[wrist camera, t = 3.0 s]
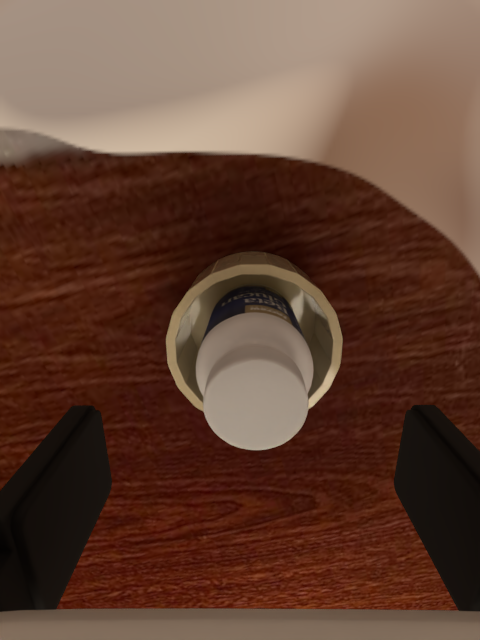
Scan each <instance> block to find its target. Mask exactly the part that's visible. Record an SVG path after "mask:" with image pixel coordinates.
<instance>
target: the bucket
mask: <svg viewBox="0 0 480 640" xmlns="http://www.w3.org/2000/svg"><path fill="white" fill-rule="evenodd" d="M245 284H261V285H265V286H268V287H271V288H273V289H275V290H276V291H278V292H279V293H280V294H282V295H283V296H284V297H285V299H286V300H287V301H288V302H289V304H290V306H291V307H292V309H293V311H294V314H295V316H296V319H297V321H298V323H299V326H300V328H301V330H302V333H303V335H304V337H305V340H306V342H307V344H308V346H309V349H310V352H311V356H312V360H313V379H312V384H311V387H310V389H309V392H308V403H309V404H308V409H310V408H311V407H312V406H314V405H315V404H316V403H317V401H318V400H319V399H320V398H321V397H322V396H323V395H324V394H325V393H326V392H327V391H328V389H329V387H331V384H332V382H333V380H334V378H335V376H336V373H337V371H338V369H339V367H340V364H341V354H342V343H343V337H342V333H341V329H340V326H339V322H338V318H337V314H336V312H335V311H334V309H333V308H332V306H331V305H330V303H329V302H328V300H327V299H326V297H325V296H324V294H323V293H322V291H321V290H320V289H319V288H318V287H317V286H316V285H315V284H314V282H313V281H312V280H311V279H310V278H309V277H308V276H307V275H306V274H305V272H303V271H302V270H301V269H299V268H298V267H297V266H296V265H294V264H293V263H291V262H290V261H289V260H287V259H285V258H282V257H280V256H277V255H274V254H270V253H266V252H255V251H250V252H239V253H236V254H232V255H229V256H226V257H224V258H222V259H219V260H217V261H216V262H214V263H213V264H211V265H210V266H209V267H207V268H206V269H205V270H204V271H202V272H201V273H200V274H199V275H198V277H197V278H196V280H195V281H194V283H193V284H192V286H191V287H190V289H189V290H188V291H187V293H186V294H185V296H184V297H183V299H182V300H181V302H180V303H179V305H178V306H177V308H176V309H175V310H174V312H173V314H172V317H171V321H170V324H169V328H168V332H167V336H166V350H167V362H168V366H169V368H170V371H171V373H172V375H173V378H174V380H175V382H176V384H177V387H178V388H179V389H180V390H181V392H182V393H183V394H184V395H185V396H186V397H187V398H188V399H189V401H190V402H191V403H192V404H193V405H194V406H195V407H197V408H198V409H200V410H202V411H203V412H204V409H203V395H202V394H201V392H200V389H199V386H198V383H197V379H196V360H197V356H198V351H199V349H200V345H201V342H202V340H203V337H204V334H205V331H206V328H207V326H208V322H209V320H210V317H211V314H212V311H213V309H214V307H215V305H216V303H217V302H218V300H219V299H220V298H221V297H222V296H223V295H224V294H225V293H227V292H228V291H229V290H231V289H233V288H235V287H238V286H241V285H245Z"/></svg>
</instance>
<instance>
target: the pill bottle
mask: <svg viewBox="0 0 480 640" xmlns="http://www.w3.org/2000/svg"><path fill="white" fill-rule="evenodd" d="M196 379H197V383H198V386H199V389H200V392H201V394H202V395H203V409H204V414H205V417H206V420H207V422H208V424H209V425H210V427H211V429H212V430H213V431H214V432H215V433H216V434H217V435H218V436H219V437H220V438H221V439H223V440H224V441H226V442H227V443H229V444H231V445H233V446H236V447H239V448H242V449H247V450H265V449H270V448H274V447H277V446H279V445H281V444H283V443H285V442H287V441H288V440H290V439H291V438H292V437H293V436H294V435H295V434H296V433H297V432H298V431H299V430H300V429H301V427H302V425H303V424H304V422H305V419H306V416H307V413H308V404H309V403H308V392H309V389H310V387H311V384H312V379H313V360H312V356H311V352H310V349H309V346H308V344H307V342H306V340H305V337H304V335H303V333H302V330H301V328H300V326H299V323H298V321H297V319H296V316H295V314H294V311H293V309H292V307H291V306H290V304H289V302H288V301H287V300H286V299H285V297H284V296H283V295H282V294H280V293H279V292H278V291H276V290H275V289H273V288H271V287H268V286H265V285H261V284H245V285H241V286H238V287H235V288H233V289H231V290H229V291H228V292H227V293H225V294H224V295H223V296H222V297H221V298H220V299H219V300H218V302H217V303H216V305H215V307H214V309H213V311H212V314H211V317H210V320H209V322H208V326H207V328H206V331H205V334H204V337H203V340H202V342H201V345H200V349H199V351H198V356H197V360H196Z"/></svg>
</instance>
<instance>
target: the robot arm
mask: <svg viewBox="0 0 480 640" xmlns="http://www.w3.org/2000/svg"><path fill="white" fill-rule="evenodd" d="M111 485H112V479H111V473H110V467H109V460H108V454H107V448H106V442H105V436H104V430H103V423H102V417H101V413H100V411H98V410H95V408H94V406H72V407H71V408H70V409H69V410H68V412H67V413H66V414H65V415H64V416H63V417H62V419H61V420H60V421H59V422H58V423H57V425H56V426H55V427H54V428H53V429H52V430H51V432H50V433H49V434H48V435H47V436H46V438H45V439H44V440H43V441H42V442H41V443H40V445H39V446H38V447H37V448H36V449H35V451H34V452H33V453H32V454H31V455H30V456H29V458H28V459H27V460H26V461H25V462H24V464H23V465H22V466H21V467H20V468H19V469H18V471H17V472H16V473H15V474H14V475H13V477H12V478H11V479H10V480H9V481H8V482H7V484H6V485H5V486H4V487H3V488H2V490H1V491H0V640H480V451H479V450H478V449H477V448H476V447H475V446H474V445H473V444H472V443H471V442H470V441H469V440H468V439H467V438H466V437H465V436H464V435H463V434H462V433H461V432H460V431H459V429H458V428H457V427H456V426H455V425H454V424H453V423H452V422H451V421H450V420H449V419H448V418H447V417H446V416H445V415H444V414H443V413H442V412H441V411H440V410H439V409H438V408H437V407H436V406H435V405H414V406H413V407H412V408H411V410H407V412H406V414H405V420H404V426H403V432H402V437H401V443H400V449H399V455H398V460H397V466H396V472H395V477H394V486H395V490H396V493H397V495H398V497H399V499H400V501H401V503H402V505H403V506H404V508H405V510H406V512H407V514H408V516H409V518H410V520H411V522H412V523H413V525H414V527H415V529H416V531H417V533H418V535H419V537H420V539H421V540H422V542H423V544H424V546H425V548H426V550H427V552H428V554H429V555H430V557H431V559H432V561H433V563H434V565H435V567H436V569H437V571H438V572H439V574H440V576H441V578H442V580H443V582H444V584H445V586H446V588H447V589H448V591H449V593H450V595H451V597H452V599H453V601H454V603H455V604H456V606H457V608H458V610H459V611H445V610H357V609H59V610H56V608H57V606H58V604H59V602H60V599H61V597H62V595H63V593H64V591H65V589H66V586H67V584H68V582H69V580H70V578H71V576H72V573H73V571H74V569H75V567H76V565H77V563H78V560H79V558H80V556H81V554H82V552H83V550H84V547H85V545H86V543H87V541H88V539H89V537H90V534H91V532H92V530H93V528H94V526H95V524H96V521H97V519H98V517H99V515H100V513H101V511H102V508H103V506H104V504H105V502H106V500H107V498H108V495H109V493H110V490H111Z"/></svg>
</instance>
